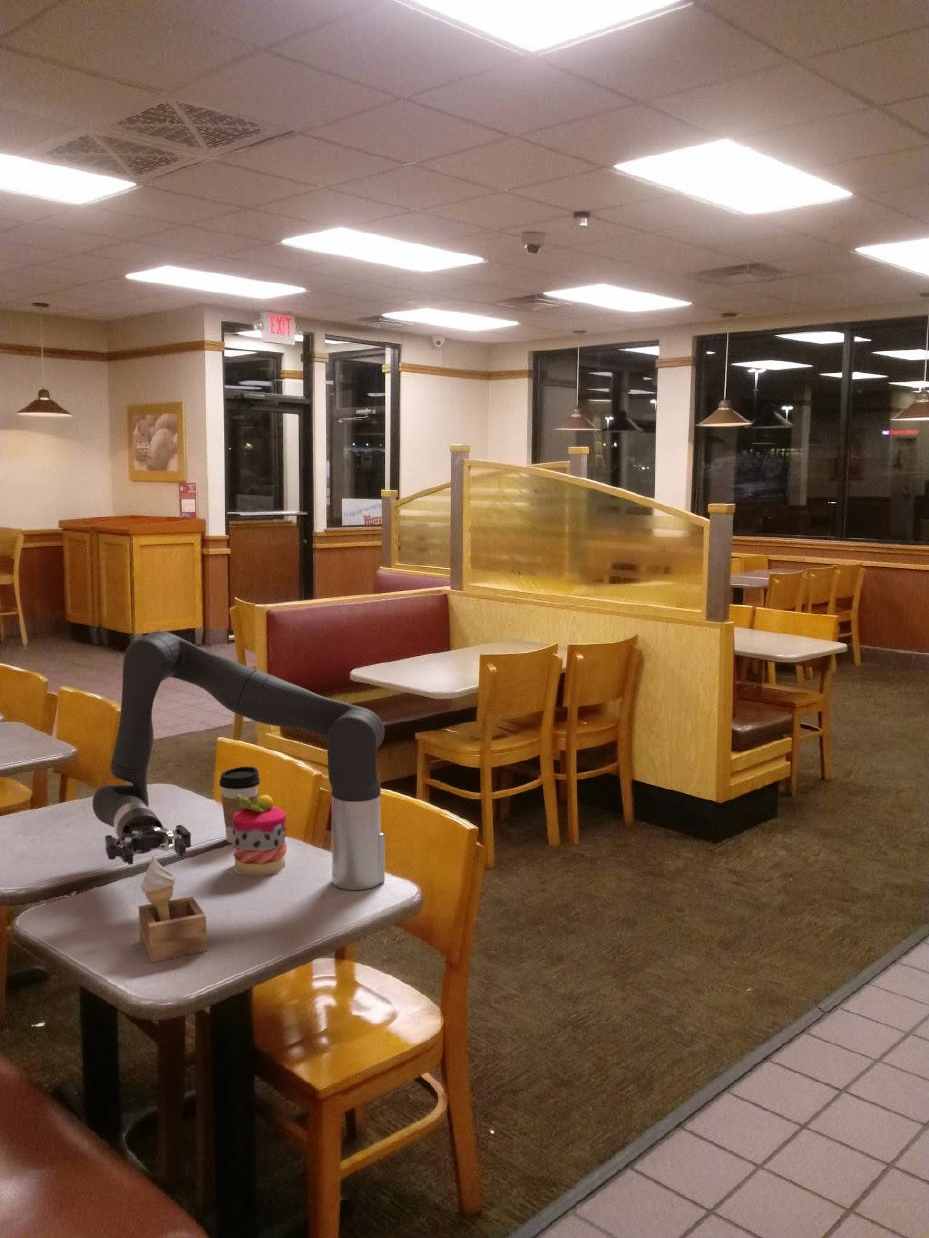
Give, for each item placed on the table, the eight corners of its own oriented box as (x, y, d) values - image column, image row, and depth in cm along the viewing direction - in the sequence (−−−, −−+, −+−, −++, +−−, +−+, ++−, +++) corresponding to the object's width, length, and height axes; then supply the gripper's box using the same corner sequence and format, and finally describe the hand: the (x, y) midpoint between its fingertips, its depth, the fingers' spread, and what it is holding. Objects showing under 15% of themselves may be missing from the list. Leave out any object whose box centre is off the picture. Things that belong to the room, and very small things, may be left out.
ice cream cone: (177, 947, 168) (159, 855, 169) (146, 953, 169) (128, 861, 170) (192, 938, 174) (175, 849, 175) (162, 943, 175) (145, 855, 176)
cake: (261, 853, 214) (260, 782, 212) (298, 864, 208) (297, 792, 206) (222, 868, 206) (220, 794, 204) (259, 880, 200) (257, 805, 198)
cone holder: (193, 930, 178) (192, 896, 177) (206, 951, 170) (205, 916, 169) (139, 940, 173) (138, 906, 173) (150, 962, 166) (149, 926, 165)
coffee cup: (268, 839, 223) (267, 771, 221) (235, 849, 216) (234, 779, 214) (245, 830, 228) (244, 763, 226) (212, 839, 222) (211, 771, 220)
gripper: (96, 812, 190) (112, 840, 176) (175, 802, 196) (197, 827, 182) (98, 852, 191) (114, 882, 177) (176, 840, 197) (198, 868, 183)
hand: (156, 854), depth 179 cm, fingers open, 8 cm apart
